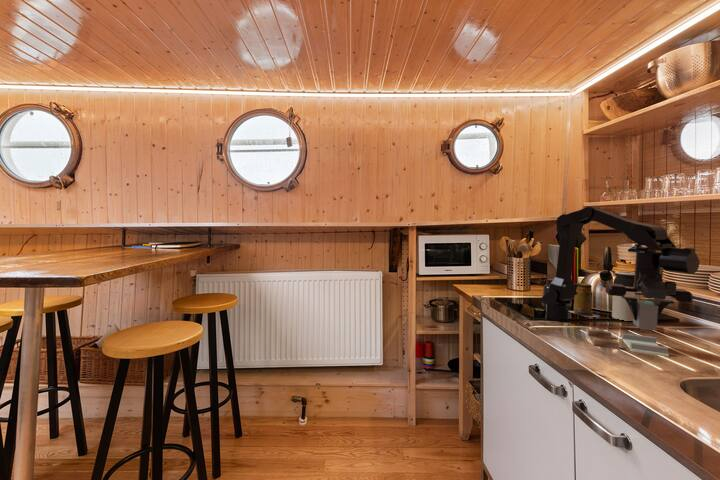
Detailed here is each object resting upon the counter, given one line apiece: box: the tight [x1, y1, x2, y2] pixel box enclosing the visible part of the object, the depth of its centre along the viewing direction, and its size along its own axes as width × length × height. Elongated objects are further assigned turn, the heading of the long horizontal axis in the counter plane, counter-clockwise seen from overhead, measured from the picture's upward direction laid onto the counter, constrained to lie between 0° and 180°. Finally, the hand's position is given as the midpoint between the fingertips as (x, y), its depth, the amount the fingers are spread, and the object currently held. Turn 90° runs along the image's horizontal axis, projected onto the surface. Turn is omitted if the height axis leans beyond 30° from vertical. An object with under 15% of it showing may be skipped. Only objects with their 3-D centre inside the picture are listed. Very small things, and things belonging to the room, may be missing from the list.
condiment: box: [568, 282, 600, 318], centre depth 134 cm, size 7×8×12 cm
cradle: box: [620, 332, 670, 357], centre depth 98 cm, size 8×12×2 cm, turn 154°
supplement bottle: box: [541, 278, 554, 308], centre depth 145 cm, size 7×7×12 cm
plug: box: [632, 300, 659, 331], centre depth 98 cm, size 4×6×8 cm, turn 154°
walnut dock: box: [586, 328, 620, 350], centre depth 103 cm, size 6×12×2 cm, turn 154°
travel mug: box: [611, 270, 641, 322], centre depth 127 cm, size 8×8×18 cm
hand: (644, 321), depth 98 cm, fingers closed on plug, 4 cm apart
